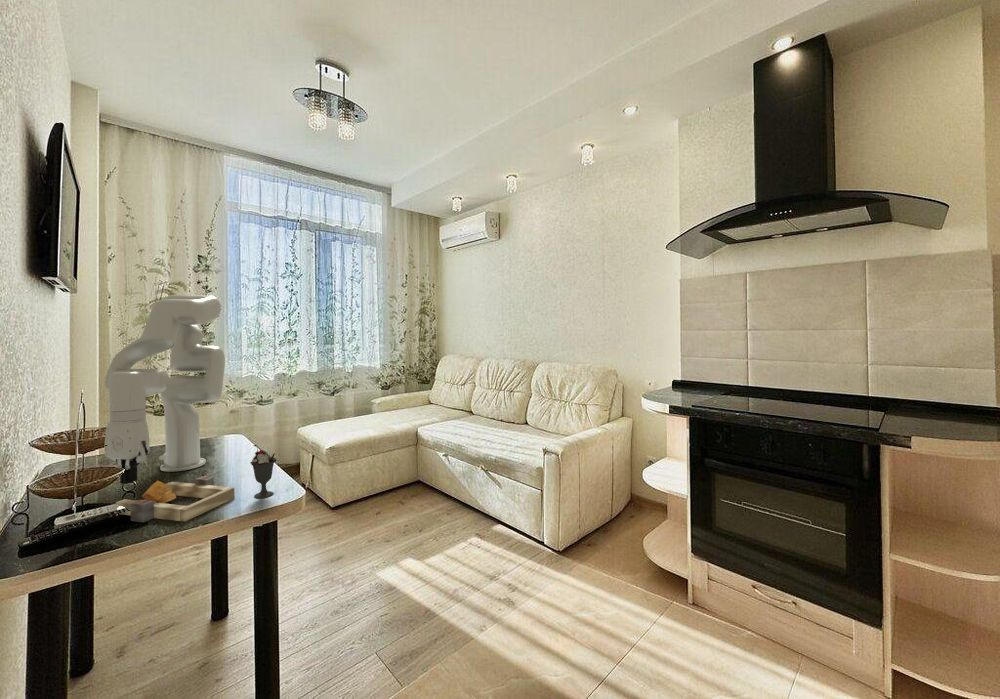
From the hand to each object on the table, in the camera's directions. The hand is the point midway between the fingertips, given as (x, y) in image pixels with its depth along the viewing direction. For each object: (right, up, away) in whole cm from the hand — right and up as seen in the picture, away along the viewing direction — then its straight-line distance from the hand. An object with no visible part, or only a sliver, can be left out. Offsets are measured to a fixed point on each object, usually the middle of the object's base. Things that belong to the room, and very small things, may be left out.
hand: (128, 482), depth 115 cm
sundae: (+34, -6, +5) cm, 35 cm away
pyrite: (+9, -6, -1) cm, 11 cm away
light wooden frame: (+14, -6, -2) cm, 16 cm away
